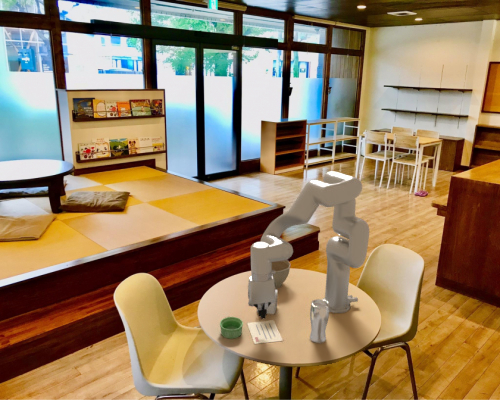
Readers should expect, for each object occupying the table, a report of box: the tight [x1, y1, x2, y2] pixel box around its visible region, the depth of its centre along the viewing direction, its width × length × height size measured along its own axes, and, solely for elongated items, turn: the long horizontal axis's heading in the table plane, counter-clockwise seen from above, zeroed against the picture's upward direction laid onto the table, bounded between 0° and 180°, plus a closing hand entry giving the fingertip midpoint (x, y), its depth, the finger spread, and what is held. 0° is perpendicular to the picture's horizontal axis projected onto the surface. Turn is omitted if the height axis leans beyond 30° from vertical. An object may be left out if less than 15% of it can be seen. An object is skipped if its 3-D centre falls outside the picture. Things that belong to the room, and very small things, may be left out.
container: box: [256, 282, 279, 315], centre depth 178 cm, size 8×8×13 cm
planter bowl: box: [271, 259, 291, 289], centre depth 200 cm, size 16×16×11 cm
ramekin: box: [219, 316, 244, 340], centre depth 162 cm, size 9×9×4 cm
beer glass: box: [309, 298, 330, 344], centre depth 158 cm, size 7×7×15 cm
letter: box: [246, 319, 284, 345], centre depth 164 cm, size 11×14×1 cm
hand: (262, 317), depth 162 cm, fingers closed
